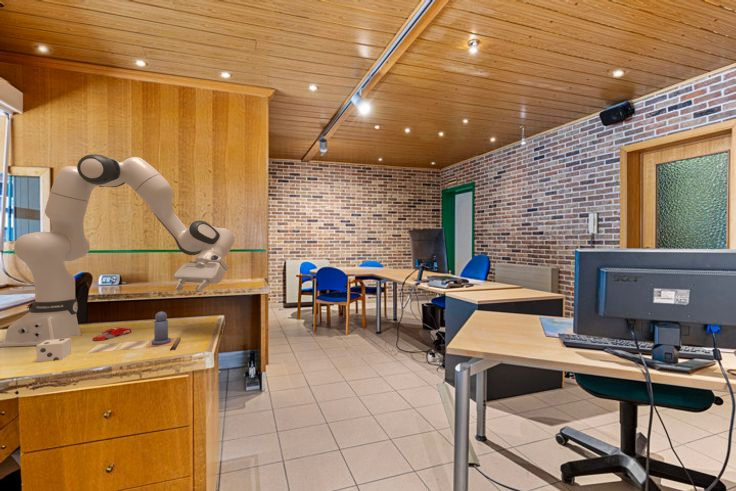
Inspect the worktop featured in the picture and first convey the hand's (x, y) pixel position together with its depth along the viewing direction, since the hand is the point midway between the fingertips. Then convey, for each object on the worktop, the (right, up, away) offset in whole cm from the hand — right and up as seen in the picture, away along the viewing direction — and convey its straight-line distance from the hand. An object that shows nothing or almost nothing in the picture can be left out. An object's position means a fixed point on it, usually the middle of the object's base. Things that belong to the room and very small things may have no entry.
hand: (187, 290), depth 131 cm
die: (-27, -18, -25) cm, 41 cm away
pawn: (-4, -17, -10) cm, 20 cm away
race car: (-26, -18, -2) cm, 32 cm away
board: (-11, -18, -13) cm, 25 cm away
